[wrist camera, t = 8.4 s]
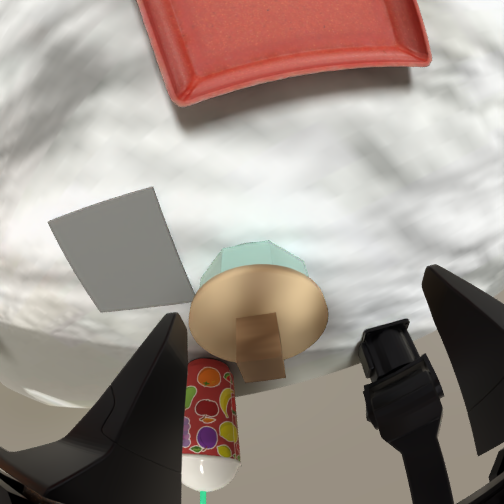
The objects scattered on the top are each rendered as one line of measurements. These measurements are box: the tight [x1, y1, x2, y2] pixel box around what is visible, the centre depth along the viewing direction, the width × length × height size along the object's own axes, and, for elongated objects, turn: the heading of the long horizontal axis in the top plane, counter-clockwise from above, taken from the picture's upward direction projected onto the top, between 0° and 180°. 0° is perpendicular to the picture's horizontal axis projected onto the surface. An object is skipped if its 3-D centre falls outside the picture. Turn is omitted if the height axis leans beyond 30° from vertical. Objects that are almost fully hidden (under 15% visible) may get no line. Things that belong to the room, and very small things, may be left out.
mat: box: [48, 187, 195, 312], centre depth 23 cm, size 12×12×1 cm
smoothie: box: [181, 358, 242, 504], centre depth 26 cm, size 8×8×20 cm
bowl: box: [199, 240, 309, 289], centre depth 23 cm, size 9×9×4 cm
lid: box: [189, 264, 328, 383], centre depth 20 cm, size 11×11×5 cm
